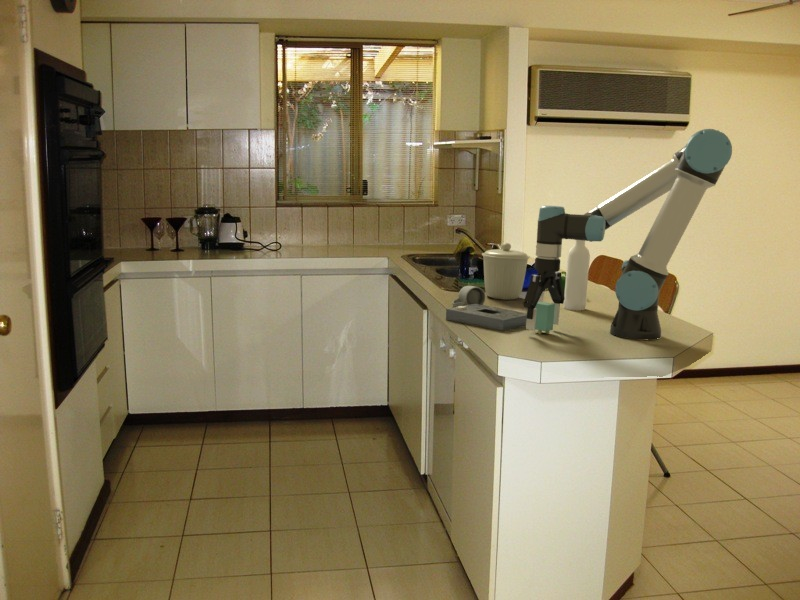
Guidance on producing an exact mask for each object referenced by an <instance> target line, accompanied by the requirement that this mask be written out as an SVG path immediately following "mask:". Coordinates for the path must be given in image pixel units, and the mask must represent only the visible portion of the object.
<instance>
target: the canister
mask: <svg viewBox="0 0 800 600" xmlns="http://www.w3.org/2000/svg"><path fill="white" fill-rule="evenodd" d="M511 248H512V245H511V243H509V242H503V243H502V244H501V249H500V248H499V249H498V248H496V249H495V248H494V249H487V250H485V251H484V252H482V253H481V256H483V276H484V277H483V279H484V280H483V281H484V293H485V295H486V296H487V297H489V298H491V299H494V300H495V299H496V300H503V301H505V300H507V301H509V300H516V299H518V298H520V296H521V295H522V291H523V287H524V282H525V277H526V272H527V266H528V261H529V259H530V256H529V255H528V254H527V253H526V252H524V251H520V250H514V249H511Z"/></svg>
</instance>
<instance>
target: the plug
mask: <svg viewBox="0 0 800 600" xmlns="http://www.w3.org/2000/svg"><path fill="white" fill-rule="evenodd" d="M552 303H553V302H546V301H545V302H544V301H538V303H537V305H536V307H535V309H537V311H536V324H535V331H537V333H538V335H541V334H542V332H545V334H548V335H550V331H552V330H554V324H553V321H554V309H555V304H552Z"/></svg>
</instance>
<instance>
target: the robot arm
mask: <svg viewBox="0 0 800 600" xmlns="http://www.w3.org/2000/svg"><path fill="white" fill-rule="evenodd" d="M732 154H733V145H732V142H731V140H730V139H729V137H728V135H726V134H725V133H724V132H722V131H720V130H717V129H714V128H706V129H705V128H704V129H701V130H699V131H697V132H695V133H694V134H692V135H691V137H689V139H688V140H687V142H686V143H685V146H683V147H682V148H681V149H680V150H678V151H676V152H675V153H673V155H672V159H670V160H668V161H667V162H665V163H663V164H662V165H660V166H658V167H657V168H656V169H654V170H653V171H651V172H649V173H648V174H646V175H645V176H643V177H641V178H640V179H638V180H637V181H635V182H633V183H631V184H630V185H629V186H627V187H626V188H624V189H623V190H621V191H619V192H617V193H616V194H614V195H613V196H611V197H610V198H608V199H607V200H605V201H603V202H601V203H600V204H598V205H597V206H595V207H593V208H592V209H590V210H588V211H587V212H586V213H584V214H573V213H567V212H566V211H565V210H566V209H565V207H564V206H559V205H543V206H541V207H540V208H539V212H538V219H537V229H536V231H537V233H536V245H535V256H536V257H535V259H534V267H533V268H534V270H535V271H537V274H531V276H530V282H529V285H528V288H527V291H526V292H525V293H526V294H525V296H524V300H523V302H522V307H523V308H526V310H527V311H526V313H527V321H526V326H525V330H528V331H529V330H530V331H536V329H535V324H536V311H537V309H535V307H536V305H537V303H538V302H540V301H539V300H540V298H541V296H542V295H543V292H544V291H546V290H547V291H548V293H549V295H550V298H551V300H552V302H551V303H552V304H555V309H554V321H553V325H557V326H558V325H559V321H560V320H559V319H560V307H561V304H562V305H564V304H563V303H564V300H565V297H564V292H563V286H562V280H561V276H562V273H561V272H562V271H560V270H561V259H560V258H561V257H562V247H563V245H562V244H563V240H573V241H575V240H583V241H585V242H602V241H603V240H604V238H605V233H606V230H608V229H610V228H611V227H612V226H614V225H616V224H617V223H619V222H621V221H622V220H624V219H626V218H627V217H629V216H630V215H632V214H634V213H635V212H637V211H638V210H640V209H642V208H643V207H645V206H647V205H649V204H650V203H651V202H654V201H655V200H657V199H659V198H660V197H662V196H663V195H665V194H667V193H668V194H667V196H666V198H665V200H664V202H663V204H662V206H661V208H660V210H659V211H658V214H657V216H656V218H655V220H654V221H653V224H652V226H651V227H650V229H649V232H648V234H647V235H646V238H645V239H644V241H643V244H642V245H641V247H640V249H639V251H638V253H637V254H634V255H631V256H630V258H628V260H624V261H623V262H622V266H621V274H620V277H619V278H618V279H617V281H616V282H615V287H614V289H615V290H614V292H615V295H616V299H617V301H618V306H617V311H616V313H615V315H614V316H613V320H612V321H611V324H610V329H609V333H610V334H611V335H613V336H615V335H616V337H619V338H624V339H628V338H629V339H630V340H637V339H656V340H658V339H657V338H660V337H661V336H662V328H661V324H660V318H659V315H658V314H659V312H658V309H659V302H660V301H659V299H660V291H661V289H662V287H663V285H664V283H665V281H666V280H667V278H668V276H669V271H668V269H667V267H668V264H669V263H670V260H671V258H672V256H673V254H674V252H675V250H676V249H677V246H678V245H679V243H680V241H681V239H682V237H683V236H684V233H685V231H686V229H687V227H688V226H689V223H690V222H691V220H692V218H693V216H694V214H695V212H696V210H697V208H698V206H699V205H700V203H701V200H702V199H703V197H704V195H705V193H706V191H707V190H708V189H710V188H712V187H715V186H716V184H717V183H718V181H719V179H720V177H721V174H722V173H723V171H724V169H725V167H726V166H727V165H728V164H729V162H730V160H731V158H732V156H733V155H732ZM629 339H628V340H629ZM660 339H661V338H660Z"/></svg>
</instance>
